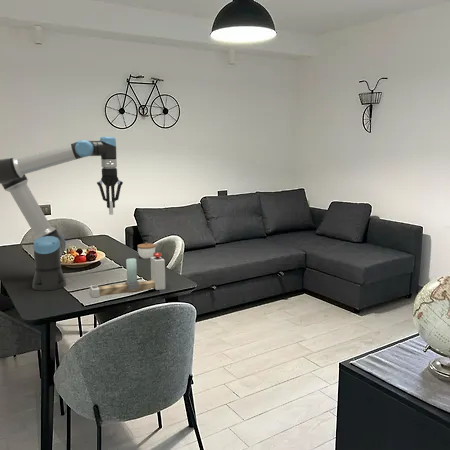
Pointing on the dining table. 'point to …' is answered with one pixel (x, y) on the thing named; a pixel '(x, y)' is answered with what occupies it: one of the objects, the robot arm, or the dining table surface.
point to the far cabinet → (158, 273)
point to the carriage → (131, 274)
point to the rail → (125, 288)
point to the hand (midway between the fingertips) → (111, 214)
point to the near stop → (94, 291)
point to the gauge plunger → (157, 255)
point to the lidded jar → (146, 250)
